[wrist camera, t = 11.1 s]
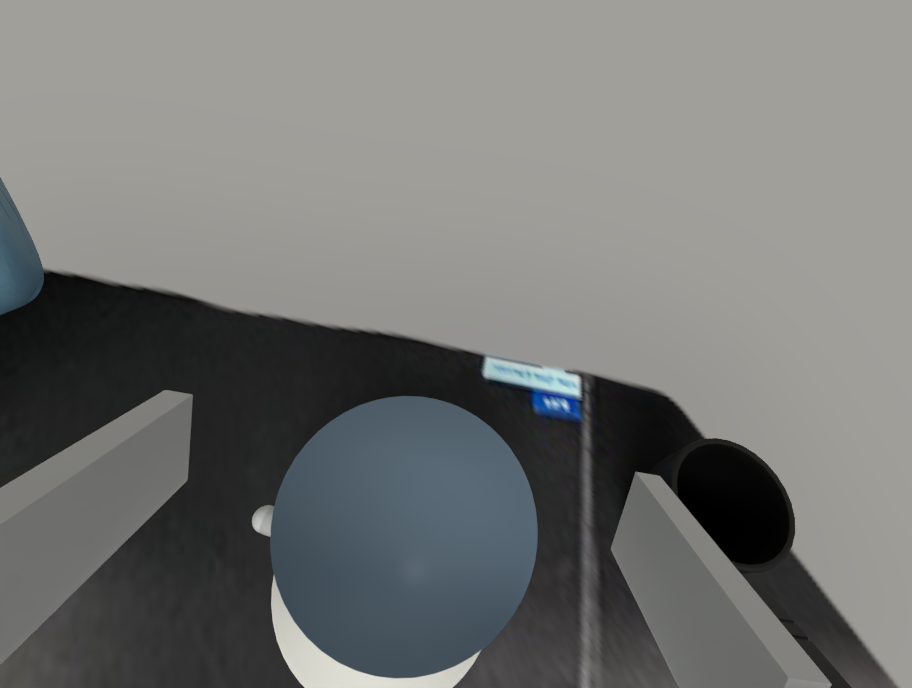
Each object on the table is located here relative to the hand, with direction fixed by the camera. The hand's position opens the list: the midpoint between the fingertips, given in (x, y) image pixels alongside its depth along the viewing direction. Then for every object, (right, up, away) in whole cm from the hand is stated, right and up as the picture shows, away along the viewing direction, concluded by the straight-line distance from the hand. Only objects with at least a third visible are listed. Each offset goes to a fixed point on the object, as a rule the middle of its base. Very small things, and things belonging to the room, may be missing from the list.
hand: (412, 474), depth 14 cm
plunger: (-1, -6, +6) cm, 9 cm away
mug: (+17, -12, +23) cm, 31 cm away
